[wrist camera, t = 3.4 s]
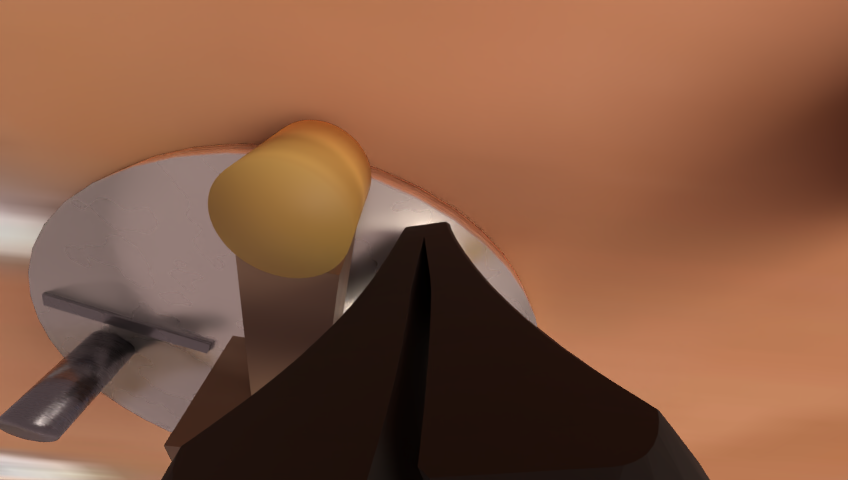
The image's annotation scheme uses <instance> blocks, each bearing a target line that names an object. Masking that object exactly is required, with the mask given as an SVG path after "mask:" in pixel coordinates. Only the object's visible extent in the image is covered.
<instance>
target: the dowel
mask: <svg viewBox="0 0 848 480" xmlns="http://www.w3.org/2000/svg"><path fill="white" fill-rule="evenodd" d="M134 353H135V348H134V346H133V345H132V344H131V343H130V342H129V341H127V340H126V339H124V338H122V337H120V336H118V335H115V334H112V333H108V332H94V333H91V334H90V335H89V336H88V337H87V338H85V339H84V340H83V341H82V342H81V343H80V344H79V345H78V346H77V347H76V348H74V349H73V350H72V351H71V352H70V353H69V354H68V355H67V356H66V357H65V358H64V359H62V360H61V361H60V362H59V363H58V364H57V365H56V366H55V367H54V368H53V369H52V370H50V371H49V372H48V373H47V374H46V375H45V376H44V377H43V378H42V379H41V380H40V381H38V382H37V383H36V384H35V385H34V386H33V387H32V388H31V389H30V390H29V391H28V392H26V393H25V394H24V395H23V396H22V397H21V398H20V399H19V400H18V401H17V402H16V403H14V404H13V405H12V406H11V407H10V408H9V409H8V410H7V411H6V412H5V413H4V414H2V415H1V416H0V429H1V430H3V431H5V432H7V433H9V434H11V435H14V436H16V437H20V438H23V439H27V440H32V441H39V442H52V441H56V440H58V439H59V438H60V437H61V435H62V434H63V433H64V432H65V431H66V430H67V429H68V428H69V427H70V425H71V424H72V423H73V422H74V421H75V420H76V419H77V418H78V416H79V415H80V414H81V413H82V412H83V411H84V410H85V409H86V407H87V406H88V405H89V404H90V403H91V402H92V401H93V400H94V398H95V397H96V396H97V395H98V394H99V393H100V392H101V391H102V389H103V388H104V387H105V386H106V385H107V384H108V383H109V382H110V381H111V379H112V378H113V377H114V376H115V375H116V374H117V373H118V372H119V370H120V369H121V368H122V367H123V366H124V365H125V364H126V363H127V361H128V360H129V359H130V358H131V357H132V356H133V355H134Z"/></svg>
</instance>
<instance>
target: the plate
mask: <svg viewBox="0 0 848 480" xmlns="http://www.w3.org/2000/svg"><path fill="white" fill-rule="evenodd" d="M257 146H259V145H255V144H228V145H214V146H201V147H192V148H188V149H183V150H179V151H175V152H170V153H166V154H161V155H157V156H153V157H151V158H148V159H146V160H144V161H141V162H139V163H136V164H134V165H131V166H129V167H127V168H124V169H122V170H119V171H117V172H115V173H113V174H111V175H109V176H107V177H104V178H102V179H100V180H98V181H96V182H94V183H92V184H90V185H89V186H87V187H86V188H85V189H83V190H82V191H80V192H79V193H77V194H76V195H74V196H73V197H71V198H70V199H68V200H67V201H65V202H64V203H63V204H62V205H61V206H60V207H59V209H58V210H57V211H56V212H55V213H54V214H53V215H52V216H51V217H50V218H49V220H48V221H47V222H46V223H45V224H44V226H43V228H42V230H41V232H40V234H39V236H38V238H37V240H36V242H35V244H34V246H33V248H32V254H31V260H30V266H29V271H28V273H29V284H30V294H31V298H32V301H33V304H34V307H35V310H36V313H37V316H38V319H39V321H40V322H41V324H42V326H43V328H44V330H45V331H46V333H47V335H48V337H49V339H50V340H51V341H52V343H53V344H54V345H55V347H56V348H57V349H58V350H59V352H60V353H61V354H62V356H63V357H64V358H65V357H66V356H67V355H68V354H69V353H70V352H71V351H72V350H73V349H74V348H76V347H77V346H78V345H79V344H80V343H81V342H82V341H83V340H84V339H85V338H87V337H88V336H89V335H90V334H91V333H94V332H108V333H112V334H115V335H118V336H120V337H122V338H124V339H126V340H127V341H129V342H130V343H131V344H132V345H133V346H134V348H135V353H134V355H133V356H132V357H131V358H130V359H129V360H128V361H127V363H126V364H125V365H124V366H123V367H122V368H121V369H120V370H119V372H118V373H117V374H116V375H115V376H114V377H113V378H112V379H111V381H110V382H109V383H108V384H107V385H106V386H105V387H104V388H103V389H102V391H101V392H102V393H103V394H105V395H106V396H108V397H109V398H111V399H112V400H114V401H115V402H117V403H118V404H120V405H121V406H122V407H124V408H126V409H128V410H129V411H131V412H133V413H134V414H136V415H138V416H140V417H141V418H143V419H145V420H147V421H149V422H151V423H153V424H155V425H157V426H159V427H161V428H163V429H165V430H167V431H170V432H173V430H174V429H175V427H176V425H177V424H178V422H179V421H180V419H181V417H182V416H183V414H184V413H185V411H186V409H187V408H188V406H189V405H190V403H191V401H192V400H193V398H194V397H195V395H196V393H197V392H198V390H199V389H200V387H201V385H202V384H203V382H204V381H205V379H206V377H207V376H208V374H209V373H210V371H211V369H212V368H213V366H214V365H215V363H216V361H217V360H218V358H219V357H220V355H221V353H222V352H223V350H224V349H225V347H226V345H227V344H228V342H229V341H230V339H231V337H232V336H239V337H245V336H244V327H243V318H242V309H241V300H240V291H239V282H238V273H237V264H236V255H235V254H234V253H233V252H232V251H231V250H230V249H229V248H228V247H227V246H226V245H225V244H224V243H223V241H222V240H221V239H220V237H219V236H218V234H217V233H216V231H215V229H214V227H213V225H212V222H211V220H210V216H209V212H208V195H209V192H210V188H211V186H212V184H213V182H214V180H215V179H216V178H217V177H218V175H219V174H220V173H222V172H223V171H224V170H225V169H226V168H228V167H229V166H231V165H232V164H233V163H235V162H236V161H238V160H239V159H240V158H242V157H243V156H245V155H246V154H248V153H249V152H250V151H252V150H253V149H255V148H256V147H257ZM370 169H371V186H370V190H369V193H368V196H367V198H366V201H365V204H364V207H363V210H362V213H361V216H360V219H359V222H358V225H357V228H356V235H355V241H354V247H353V253H352V260H351V266H350V272H349V279H348V285H347V291H346V297H345V304H344V310H343V314H344V313H345V312H346V311H347V310H348V308H349V307H350V306H351V305H352V304H353V303H354V301H355V300H356V299H357V298H358V297H359V295H360V294H361V293H362V291H363V290H364V289H365V288H366V286H367V285H368V284H369V282H370V281H371V280H372V278H373V277H374V276H375V274H376V273H377V271H378V270H379V268H380V267H381V265H382V264H383V262H384V261H385V259H386V258H387V256H388V255H389V253H390V252H391V250H392V248H393V247H394V245H395V244H396V242H397V240H398V238H399V237H400V235H401V233H402V232H403V230H404V229H405V228H406V227H410V226H417V225H424V224H431V223H439V222H448V223H449V224H450V225H451V229H452V231H453V233H454V235H455V237H456V239H457V241H458V242H459V244H460V246H461V247H462V249H463V250H464V252H465V253H466V254H467V256H468V257H469V258H470V260H471V261H472V263H473V264H474V265H475V266H476V268H477V269H478V270H479V271H480V272H481V274H482V275H483V276H484V277H485V278H486V279H487V281H488V282H489V283H490V284H491V285H492V286H493V287H494V288H495V289H496V290H497V291H498V292H499V293H500V294H501V295H502V296H503V297H504V298H505V299H506V300H507V301H508V302H509V303H510V304H511V305H512V306H513V307H514V308H515V309H516V310H518V311H519V312H520V313H521V314H522V315H523V316H524V317H525V318H526V319H528V320H529V321H530V322H531V323H533V324H534V325H535V326H536V327H537V324H536V319H535V315H534V313H533V310H532V307H531V305H530V302H529V300H528V297H527V295H526V293H525V290H524V288H523V286H522V283H521V281H520V279H519V277H518V275H517V274H516V272H515V271H514V269H513V268H512V266H511V265H510V263H509V262H508V260H507V259H506V257H505V256H504V254H503V253H502V252H501V251H500V250H499V249H498V247H497V246H496V245H495V244H494V243H493V242H492V241H491V240H490V239H489V238H488V237H487V236H486V235H485V234H484V232H483V231H482V230H481V229H479V228H478V227H477V226H476V225H474V224H473V223H472V222H471V221H469V220H468V219H467V218H466V217H464V216H463V215H462V214H461V213H459V212H458V211H457V210H456V209H454V208H453V207H452V206H450V205H448V204H447V203H445V202H443V201H442V200H440V199H438V198H437V197H435V196H433V195H432V194H430V193H428V192H427V191H425V190H423V189H422V188H420V187H418V186H416V185H414V184H412V183H409V182H407V181H405V180H403V179H400V178H398V177H396V176H394V175H391V174H389V173H387V172H385V171H382V170H380V169H378V168H375V167H371V166H370Z"/></svg>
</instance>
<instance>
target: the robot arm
mask: <svg viewBox="0 0 848 480" xmlns="http://www.w3.org/2000/svg"><path fill="white" fill-rule="evenodd" d="M161 480H710V479H709V478H708V476H707V475H706V473H705V472H704V470H703V468H702V467H701V465H700V464H699V462H698V461H697V460H696V458H695V457H694V456H693V454H692V453H691V452H690V450H689V449H688V448H687V446H686V445H685V444H684V442H683V441H682V440H681V438H680V437H679V436H678V434H677V433H676V432H675V431H674V429H673V428H672V427H671V425H670V424H669V423H668V421H667V420H666V419H665V418H664V416H663V415H662V414H661V413H660V411H659V410H657V409H656V408H654V407H653V406H651V405H649V404H648V403H646V402H645V401H643V400H641V399H640V398H638V397H637V396H635V395H633V394H632V393H630V392H629V391H627V390H625V389H624V388H622V387H621V386H619V385H617V384H616V383H614V382H613V381H611V380H609V379H608V378H606V377H605V376H603V375H602V374H600V373H599V372H597V371H596V370H594V369H593V368H591V367H590V366H589V365H587V364H586V363H584V362H583V361H581V360H580V359H579V358H577V357H576V356H574V355H573V354H572V353H570V352H569V351H567V350H566V349H564V348H563V347H562V346H561V345H559V344H558V343H557V342H555V341H554V340H553V339H552V338H550V337H549V336H548V335H547V334H545V333H544V332H543V331H542V330H540V329H539V328H538V327H536V326H535V325H534V324H533V323H531V322H530V321H529V320H528V319H526V318H525V317H524V316H523V315H522V314H521V313H520V312H519V311H518V310H516V309H515V308H514V307H513V306H512V305H511V304H510V303H509V302H508V301H507V300H506V299H505V298H504V297H503V296H502V295H501V294H500V293H499V292H498V291H497V290H496V289H495V288H494V287H493V286H492V285H491V284H490V283H489V282H488V281H487V279H486V278H485V277H484V276H483V275H482V274H481V272H480V271H479V270H478V269H477V268H476V266H475V265H474V264H473V263H472V261H471V260H470V258H469V257H468V256H467V254H466V253H465V252H464V250H463V249H462V247H461V246H460V244H459V242H458V241H457V239H456V237H455V235H454V233H453V231H452V229H451V225H450V224H449V223H448V222H439V223H431V224H424V225H417V226H410V227H406V228H405V229H404V230H403V232H402V233H401V235H400V237H399V238H398V240H397V242H396V244H395V245H394V247H393V248H392V250H391V252H390V253H389V255H388V256H387V258H386V259H385V261H384V262H383V264H382V265H381V267H380V268H379V270H378V271H377V273H376V274H375V276H374V277H373V278H372V280H371V281H370V282H369V284H368V285H367V286H366V288H365V289H364V290H363V291H362V293H361V294H360V295H359V297H358V298H357V299H356V300H355V301H354V303H353V304H352V305H351V306H350V307H349V308H348V310H347V311H346V312H345V313H344V314H343V315H342V316H341V317H340V318H339V319H338V320H337V321H336V322H335V324H334V325H333V326H332V327H330V328H329V329H328V330H327V331H326V332H325V333H324V334H323V335H322V336H321V337H320V338H319V339H318V340H317V341H316V342H315V343H314V344H312V345H311V346H310V347H309V348H308V349H307V350H306V351H305V352H304V353H303V354H302V355H301V356H300V357H298V358H297V359H296V360H295V361H294V362H293V363H291V364H290V365H289V366H288V367H287V368H285V369H284V370H283V371H282V372H281V373H279V374H278V375H277V376H276V377H274V378H273V379H272V380H271V381H269V382H268V383H267V384H266V385H265V386H263V387H262V388H261V389H260V390H258V391H257V392H256V393H254V394H253V395H252V396H250V397H249V398H248V399H246V400H245V401H244V402H242V403H241V404H240V405H238V406H237V407H236V408H234V409H233V410H231V411H230V412H229V413H227V414H226V415H224V416H223V417H222V418H220V419H219V420H218V421H216V422H215V423H213V424H212V425H211V426H209V427H208V428H206V429H205V430H204V431H202V432H201V433H199V434H198V435H197V436H195V437H194V438H192V439H191V440H189V441H188V442H187V443H185V444H184V445H182V446H181V447H180V449H179V451H178V452H177V454H176V456H175V457H174V459H173V461H172V462H171V464H170V466H169V467H168V469H167V471H166V473H165V474H164V476H163V478H162V479H161Z"/></svg>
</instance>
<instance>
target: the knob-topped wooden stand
mask: <svg viewBox="0 0 848 480" xmlns="http://www.w3.org/2000/svg"><path fill="white" fill-rule="evenodd" d="M370 186H371V169H370V164H369V161H368V159H367V156H366V154H365V152H364V151H363V149H362V148H361V146H360V145H359V144H358V142H357V141H356V140H355V139H354V138H353V137H352V136H351V135H349V134H348V133H347V132H345V131H344V130H342V129H341V128H339V127H337V126H335V125H333V124H330V123H327V122H323V121H318V120H302V121H298V122H294V123H292V124H289V125H288V126H286V127H284V128H283V129H281V130H280V131H279V132H277V133H276V134H274V135H273V136H271V137H270V138H269V139H267V140H266V141H264V142H263V143H262V144H260V145H259V146H257V147H256V148H255V149H253V150H252V151H250V152H249V153H248V154H246V155H245V156H243V157H242V158H240V159H239V160H238V161H236V162H235V163H233V164H232V165H231V166H229V167H228V168H226V169H225V170H224V171H223V172H222V173H220V174H219V175H218V177H217V178H216V179H215V180H214V182H213V184H212V186H211V188H210V192H209V195H208V212H209V216H210V220H211V222H212V225H213V227H214V229H215V231H216V233H217V234H218V236H219V237H220V239H221V240H222V241H223V243H224V244H225V245H226V246H227V247H228V248H229V249H230V250H231V251H232V252H233V253H234V254H235V255H236V264H237V273H238V282H239V291H240V300H241V309H242V318H243V327H244V336H245V337H239V336H232V337H231V339H230V341H229V342H228V344H227V345H226V347H225V349H224V350H223V352H222V353H221V355H220V357H219V358H218V360H217V361H216V363H215V365H214V366H213V368H212V369H211V371H210V373H209V374H208V376H207V377H206V379H205V381H204V382H203V384H202V385H201V387H200V389H199V390H198V392H197V393H196V395H195V397H194V398H193V400H192V401H191V403H190V405H189V406H188V408H187V409H186V411H185V413H184V414H183V416H182V417H181V419H180V421H179V422H178V424H177V425H176V427H175V429H174V430H173V432H172V433H171V435H170V437H169V438H168V440H167V441H166V443H165V445H164V447H165V449H166V451H167V453H168V455H169V457H170V459H171V461H173V459H174V457H175V456H176V454H177V452H178V451H179V449H180V447H181V446H182V445H184V444H185V443H187V442H188V441H189V440H191V439H192V438H194V437H195V436H197V435H198V434H199V433H201V432H202V431H204V430H205V429H206V428H208V427H209V426H211V425H212V424H213V423H215V422H216V421H218V420H219V419H220V418H222V417H223V416H224V415H226V414H227V413H229V412H230V411H231V410H233V409H234V408H236V407H237V406H238V405H240V404H241V403H242V402H244V401H245V400H246V399H248V398H249V397H250V396H252V395H253V394H254V393H256V392H257V391H258V390H260V389H261V388H262V387H263V386H265V385H266V384H267V383H268V382H269V381H271V380H272V379H273V378H274V377H276V376H277V375H278V374H279V373H281V372H282V371H283V370H284V369H285V368H287V367H288V366H289V365H290V364H291V363H293V362H294V361H295V360H296V359H297V358H298V357H300V356H301V355H302V354H303V353H304V352H305V351H306V350H307V349H308V348H309V347H310V346H311V345H312V344H314V343H315V342H316V341H317V340H318V339H319V338H320V337H321V336H322V335H323V334H324V333H325V332H326V331H327V330H328V329H329V328H330V327H332V326H333V325H334V324H335V322H336V321H337V320H338V319H339V318H340V317H341V316H342V315H343V310H344V304H345V297H346V291H347V285H348V279H349V272H350V266H351V260H352V253H353V247H354V241H355V235H356V228H357V225H358V222H359V219H360V216H361V213H362V210H363V207H364V204H365V201H366V198H367V196H368V193H369V190H370Z"/></svg>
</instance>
